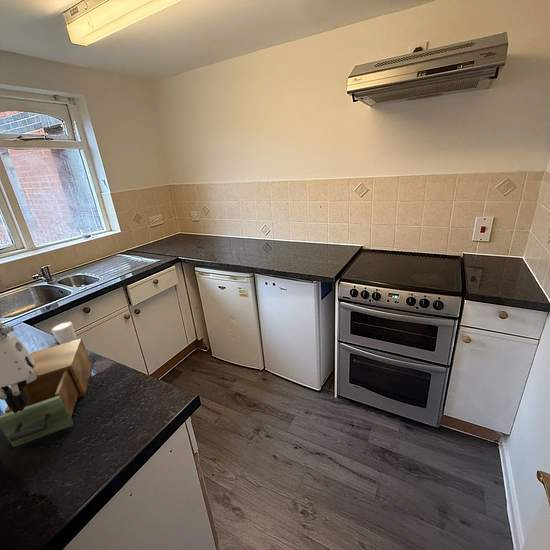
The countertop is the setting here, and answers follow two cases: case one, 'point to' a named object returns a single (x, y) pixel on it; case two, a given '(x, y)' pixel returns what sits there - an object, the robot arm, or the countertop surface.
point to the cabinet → (65, 362)
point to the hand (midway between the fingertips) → (21, 407)
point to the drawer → (42, 409)
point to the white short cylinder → (64, 332)
